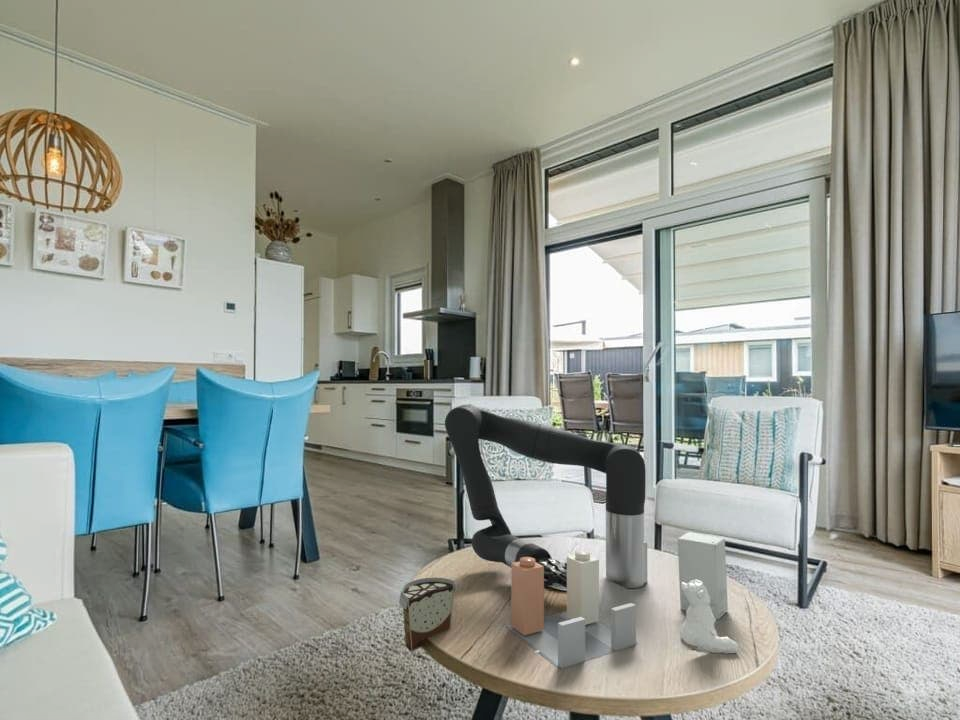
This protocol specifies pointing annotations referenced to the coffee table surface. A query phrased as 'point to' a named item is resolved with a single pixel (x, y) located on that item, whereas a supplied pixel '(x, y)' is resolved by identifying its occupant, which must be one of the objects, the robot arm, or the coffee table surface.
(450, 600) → the food container
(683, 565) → the skincare box
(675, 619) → the coffee table surface
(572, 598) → the cream plug
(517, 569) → the terracotta plug
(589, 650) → the grey holder stand
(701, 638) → the sitting furry creature
